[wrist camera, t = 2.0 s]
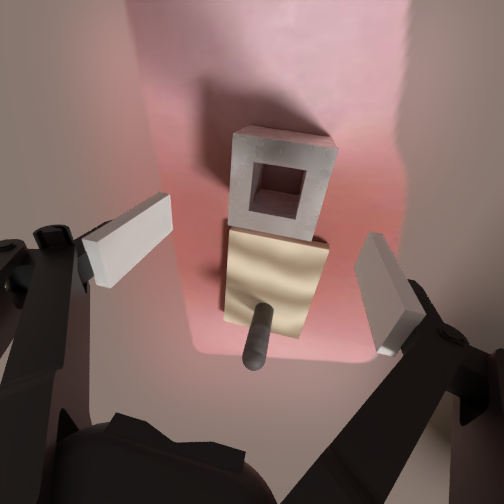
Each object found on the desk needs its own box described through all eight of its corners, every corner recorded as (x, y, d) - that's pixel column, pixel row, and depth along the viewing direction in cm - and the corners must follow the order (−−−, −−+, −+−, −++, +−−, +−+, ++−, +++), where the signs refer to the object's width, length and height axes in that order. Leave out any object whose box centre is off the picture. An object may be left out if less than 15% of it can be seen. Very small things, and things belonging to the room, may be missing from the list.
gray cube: (250, 125, 25) (232, 132, 20) (331, 137, 24) (338, 148, 19) (243, 200, 30) (227, 225, 24) (311, 213, 29) (311, 241, 23)
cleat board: (232, 225, 32) (200, 277, 23) (328, 243, 31) (336, 307, 21) (226, 314, 42) (202, 376, 33) (298, 331, 41) (295, 401, 32)
